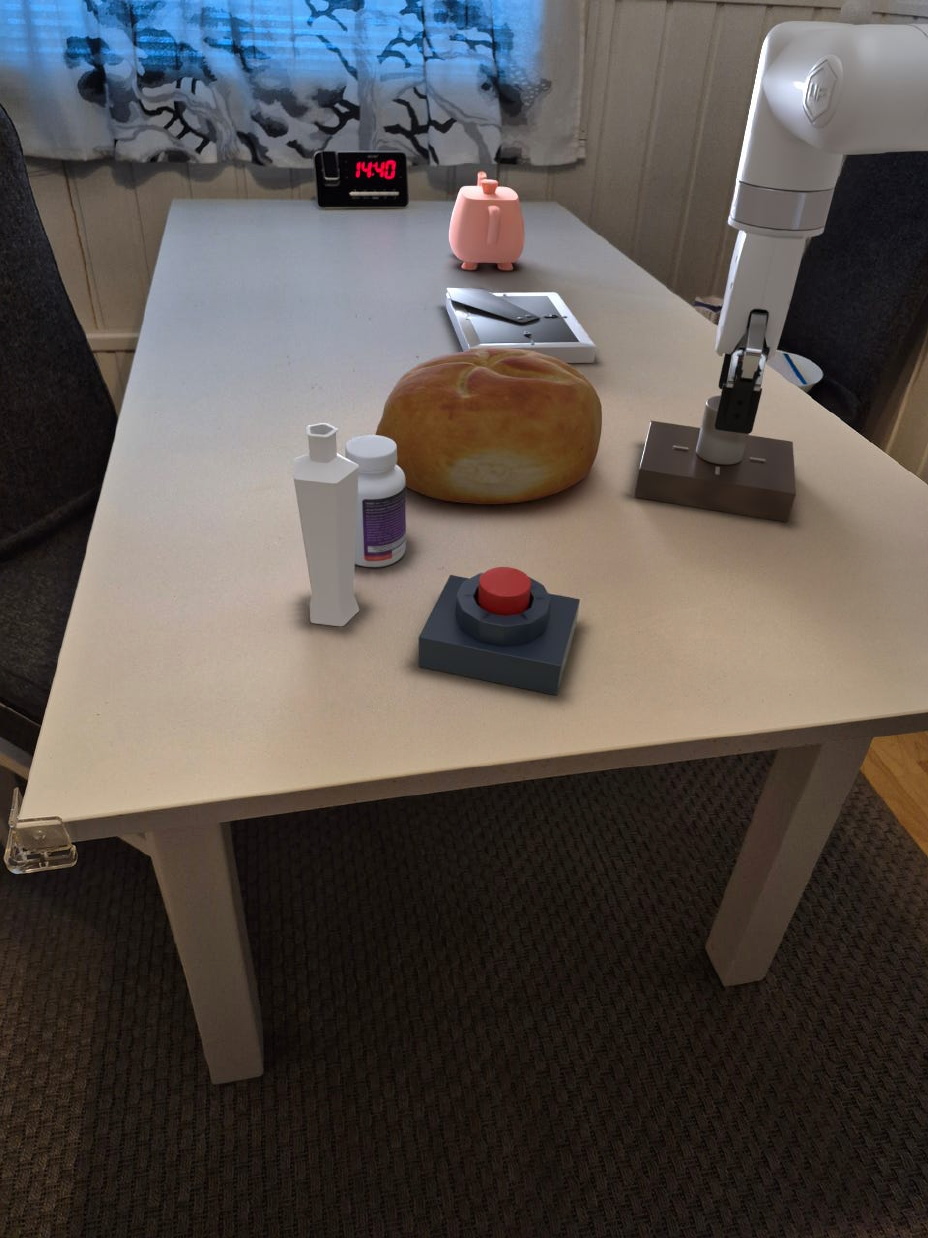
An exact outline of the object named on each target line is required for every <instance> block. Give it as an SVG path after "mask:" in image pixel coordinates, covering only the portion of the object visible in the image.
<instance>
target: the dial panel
mask: <svg viewBox="0 0 928 1238" xmlns="http://www.w3.org/2000/svg"><path fill="white" fill-rule="evenodd" d="M700 428H701V427H697V426H691V425H683V424H678V423H671V422H670V423H669V422H663V421H658V420H657V421H655V420H650V422H649V426H648V431H647V435H646V439H645V444H644V447H643V452H642V456H641V460H640V464H639V467H638V473H637V478H636V485H635V491H634V495H633V497H634V498H638V499H644V500H649V501H650V500H651V501H656V502H662V503H668V504H674V505H681V506H686V507H693V508H700V509H705V510H711V511H716V512H721V513H729V514H735V515H741V516H747V517H753V518H759V519H765V520H771V521H777V522H782V523H788V521H789V518H790V515H791V512H792V508H793V506H794V502H795V499H796V496H797V489H796V471H795V455H794V442H793V441H792V440H784V439H777V438H772V437H764V436H757V435H752V434H749V435H748V438H747V442H746V446H745V450H744V454H743V458H742V460H741V461H740V462H738V463H735V464H729V465H723V464H716V463H711V462H708V461H706V460H704V459H702V458H701V457H699V456H698V455H697V453H696V446H697V442H698V437H699V433H700Z"/></svg>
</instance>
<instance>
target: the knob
mask: <svg viewBox="0 0 928 1238" xmlns="http://www.w3.org/2000/svg"><path fill="white" fill-rule="evenodd" d="M720 397H721V395H715V396H714V395H713V396H710V397H709V398H708V399H707V400H706V402H705V407H704V411H703V415H702V419H701V424H700V427H699V428H700V433H699V437H698V442H697V446H696V453H697V455H698V456H699V457H701V458H702V459H704V460H706V461H708V462H711V463H716V464H723V465H729V464H735V463H738V462H740V461H741V460H742V458H743V454H744V450H745V446H746V442H747V438H748V435H750V434H743V433H736V432H728V431H721V430H717V429H716V428H715V420H716V416H717V411H718V406H719V402H720Z"/></svg>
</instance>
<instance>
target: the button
mask: <svg viewBox="0 0 928 1238" xmlns="http://www.w3.org/2000/svg"><path fill="white" fill-rule="evenodd" d="M482 573H483V574H482V575H481V576H480V579H479V592H478V602H479V604H480V606H481V607H482V608H483V609H484V610H486V611H487V612H489V613H492V614H497V615H503V616H506V615H514V614H520V613H522V612H523V611H525V610H526V609H527V607H528V605H529V599H530V589H531V581H530V579H529V577H530V576H528V574H527V573H525V572H523V571H522V570H520V569H518V568H514V567H509V566H497V567H496V566H495V567H491V568H489V569H486V570H485V571H484V572H482Z"/></svg>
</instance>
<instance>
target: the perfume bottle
mask: <svg viewBox="0 0 928 1238" xmlns="http://www.w3.org/2000/svg"><path fill="white" fill-rule="evenodd" d="M338 431H339V429H338V428H337V427H335V426H334V425H332V424H331V423H328V422H320V423H314V424H309V425H306V426H305V435H306V436H307V439H308V450H309V451H308V452H309V453H306V454H303V455H300V456H298V457H295V458H293V460H292V467H293V468H292V473H293V476H292V477H293V483H294V490H295V495H296V500H297V502H296V503H297V508H298V515H299V521H300V528H301V533H302V539H303V546H304V553H305V558H306V564H307V571H308V578H309V584H310V591H311V595H310V602H309V620H310V621H309V622H310V623H312V624H318V625H325V626H334V627H344V626H345V625H347V623H348V622H349V621H350V620H351V619H353V617H355V615H357V613H359V611H360V608H359V605H358V602H357V600H356V597H355V594H354V589H355V588H354V587H355V567H356V564H355V544H356V520H357V497H358V474H359V465H358V464H356V463H354V462H352V461H350V460H348V459H347V458H346V456H343V455H342V454H339V453H338V447H337V446H338V445H337V433H338Z"/></svg>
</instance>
